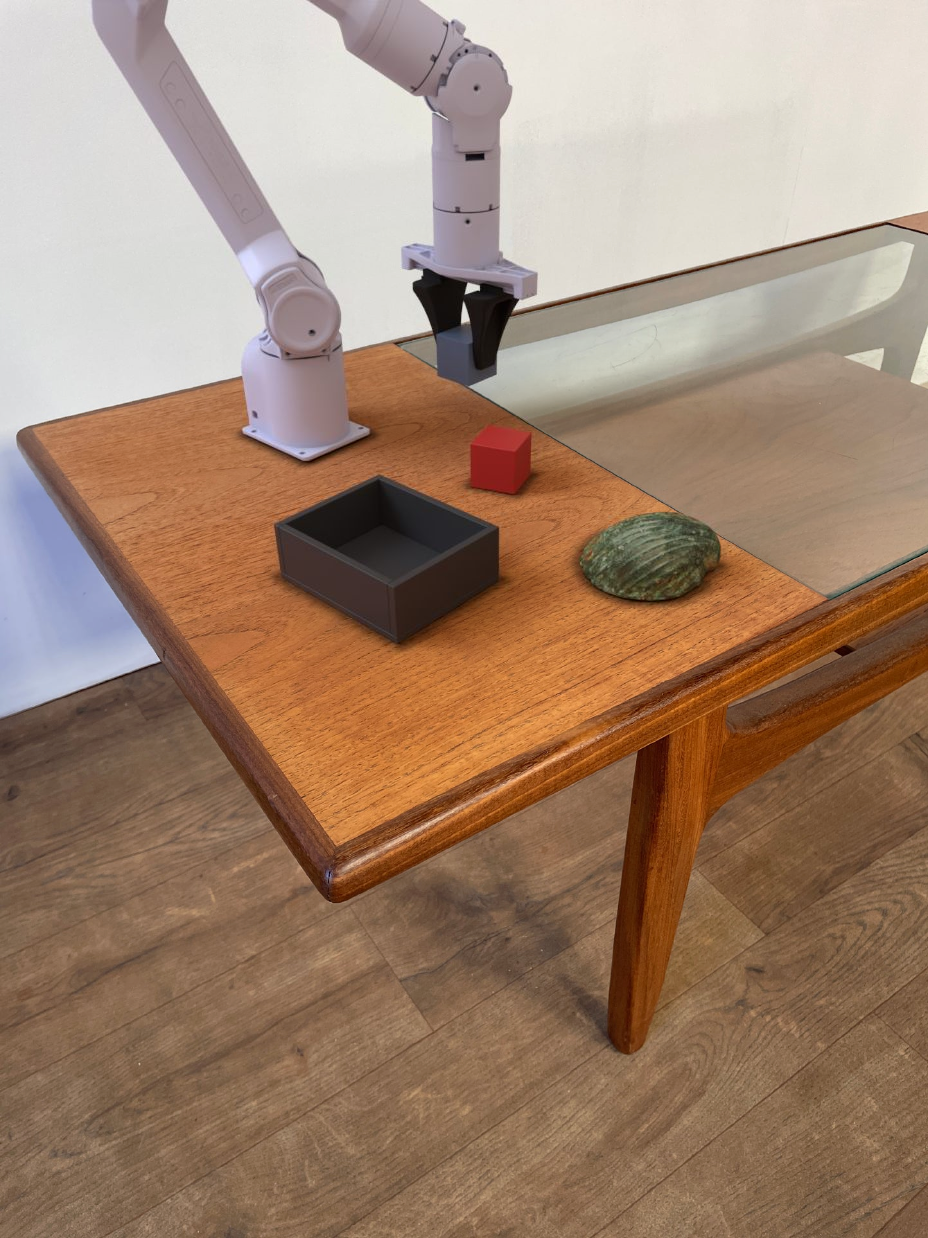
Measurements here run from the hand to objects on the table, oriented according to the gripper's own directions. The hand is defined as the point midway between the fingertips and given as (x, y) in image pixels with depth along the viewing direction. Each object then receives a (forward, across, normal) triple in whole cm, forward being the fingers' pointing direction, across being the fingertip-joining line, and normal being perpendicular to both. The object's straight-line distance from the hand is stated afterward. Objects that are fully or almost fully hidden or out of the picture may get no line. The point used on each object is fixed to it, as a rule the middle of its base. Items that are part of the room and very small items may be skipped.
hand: (467, 360), depth 90 cm
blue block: (+1, 0, 0) cm, 1 cm away
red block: (+6, -11, +8) cm, 15 cm away
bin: (+6, -15, +25) cm, 30 cm away
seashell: (+6, -28, +11) cm, 31 cm away
